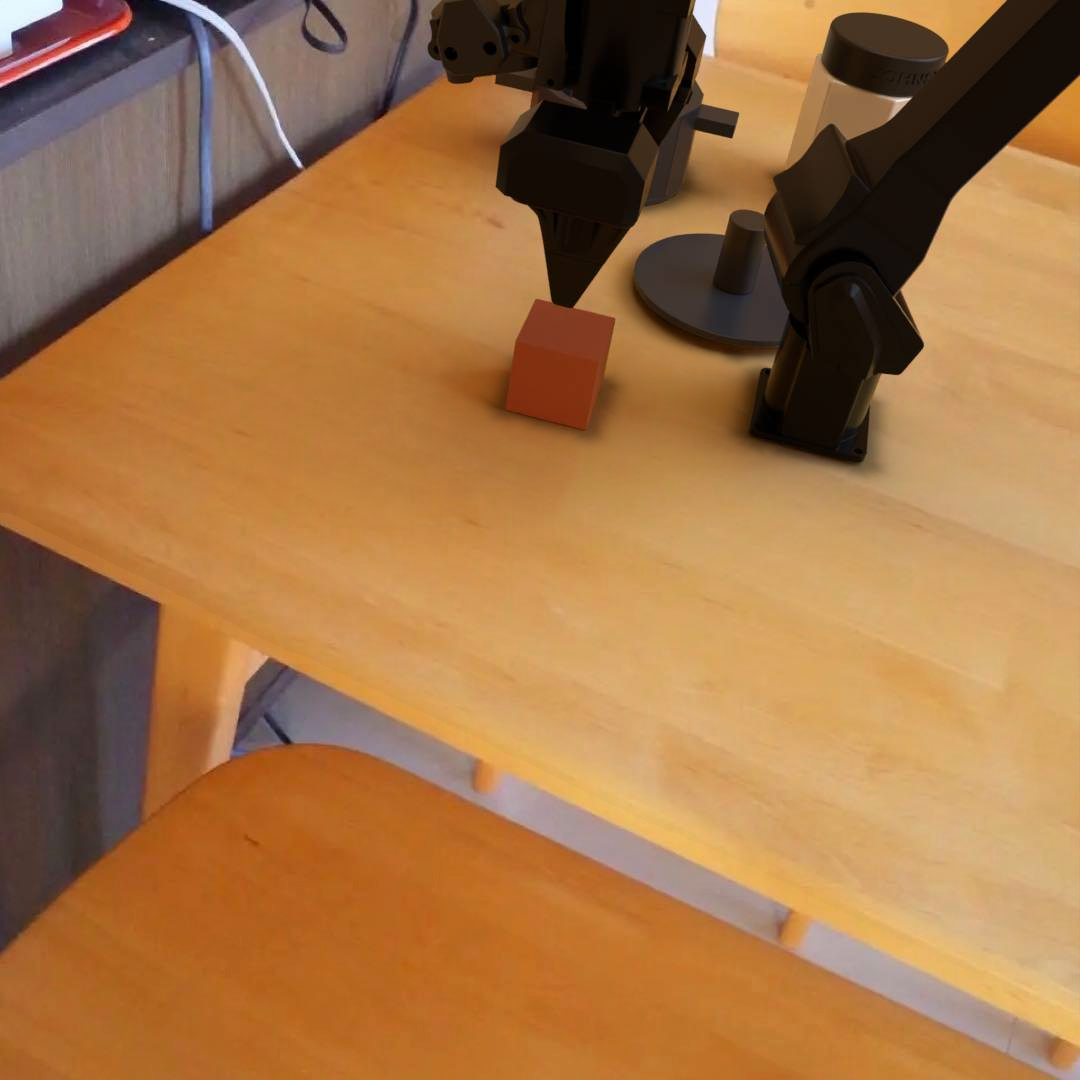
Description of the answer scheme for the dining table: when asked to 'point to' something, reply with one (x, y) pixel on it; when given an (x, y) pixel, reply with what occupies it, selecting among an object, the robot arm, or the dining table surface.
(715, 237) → the lid
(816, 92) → the jar
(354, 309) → the dining table surface
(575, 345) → the block
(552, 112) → the robot arm
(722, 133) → the pot
